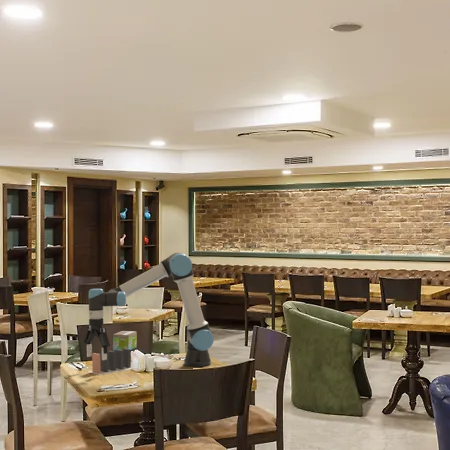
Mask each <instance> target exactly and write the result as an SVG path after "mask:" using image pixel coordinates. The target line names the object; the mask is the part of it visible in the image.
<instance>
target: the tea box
mask: <svg viewBox="0 0 450 450" xmlns="http://www.w3.org/2000/svg"><path fill="white" fill-rule="evenodd" d="M137 335H138V332H137V331H135V330H134V331H131V330H122V331H118V332H116V333H113V336H112V337H113V338H112V339H113V340H112V342H113V343H112V351H115V350H117V349H118V350H123V348H127V349H131V351H135V350H137V348H138V346H137V344H138V342H137V341H138V338H137V337H138V336H137Z"/></svg>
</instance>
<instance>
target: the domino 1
mask: <svg viewBox="0 0 450 450" xmlns="http://www.w3.org/2000/svg"><path fill="white" fill-rule="evenodd" d="M91 358H92V360H91V363H92V364H91V365H92V367H91V371H92V372H93V373H92V374H94V373H97V374H96V375H98V374H99V373H100V353H96V352H92V356H91Z"/></svg>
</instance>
